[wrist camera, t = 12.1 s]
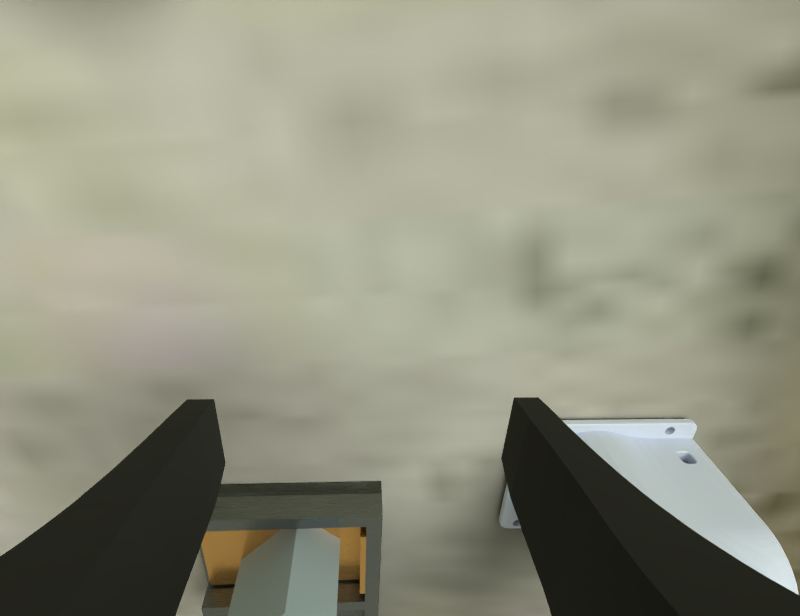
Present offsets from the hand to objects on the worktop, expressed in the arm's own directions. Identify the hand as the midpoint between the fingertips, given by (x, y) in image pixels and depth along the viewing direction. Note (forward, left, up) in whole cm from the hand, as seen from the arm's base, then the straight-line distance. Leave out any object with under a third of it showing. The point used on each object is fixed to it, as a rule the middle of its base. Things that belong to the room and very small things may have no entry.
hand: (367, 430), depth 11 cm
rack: (+4, +24, -9) cm, 26 cm away
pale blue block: (+4, +17, -8) cm, 19 cm away
